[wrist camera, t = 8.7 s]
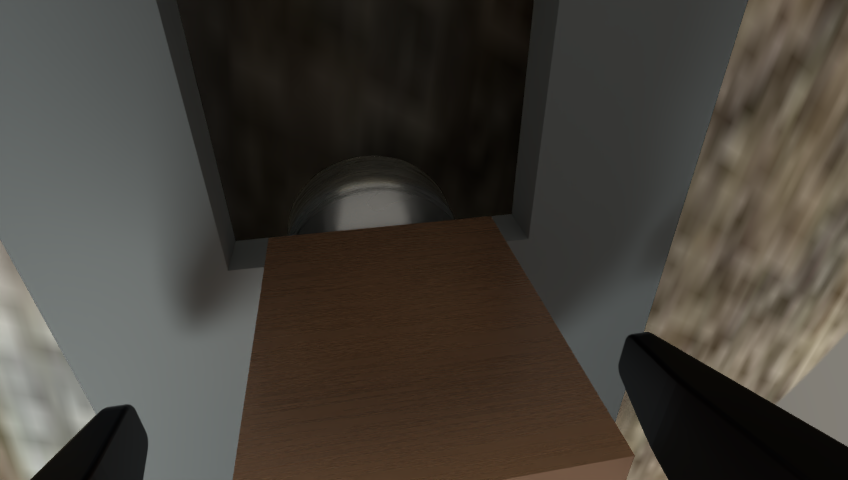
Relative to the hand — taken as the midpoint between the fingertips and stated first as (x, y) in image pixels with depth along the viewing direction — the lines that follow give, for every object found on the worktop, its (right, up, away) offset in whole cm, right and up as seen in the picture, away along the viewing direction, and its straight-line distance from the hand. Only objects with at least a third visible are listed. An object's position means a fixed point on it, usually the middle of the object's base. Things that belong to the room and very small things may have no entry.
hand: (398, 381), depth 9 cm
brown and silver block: (-1, +3, +4) cm, 5 cm away
